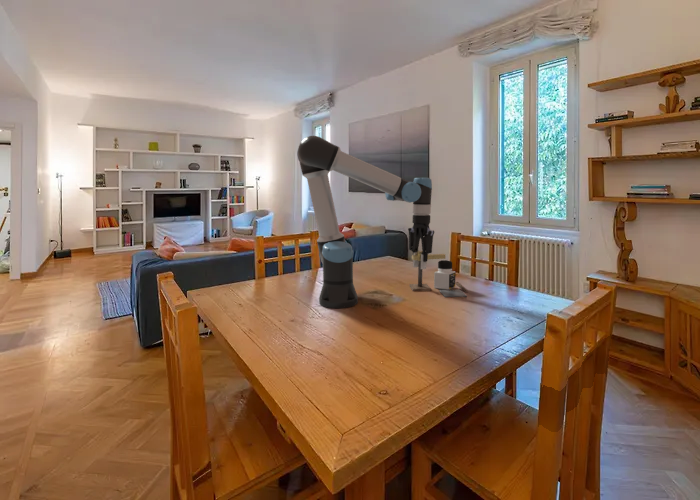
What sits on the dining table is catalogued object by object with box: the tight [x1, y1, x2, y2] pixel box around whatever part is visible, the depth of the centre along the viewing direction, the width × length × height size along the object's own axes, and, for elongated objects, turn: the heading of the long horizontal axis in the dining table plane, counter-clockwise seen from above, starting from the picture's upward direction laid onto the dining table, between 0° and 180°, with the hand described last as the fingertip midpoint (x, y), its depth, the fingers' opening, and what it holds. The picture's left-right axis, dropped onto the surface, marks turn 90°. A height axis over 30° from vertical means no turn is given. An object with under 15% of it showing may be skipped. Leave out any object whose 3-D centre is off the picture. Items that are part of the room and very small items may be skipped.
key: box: [411, 250, 446, 261], centre depth 167 cm, size 15×3×4 cm, turn 100°
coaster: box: [439, 289, 468, 298], centre depth 160 cm, size 9×9×1 cm
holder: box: [409, 261, 469, 293], centre depth 168 cm, size 23×14×12 cm, turn 91°
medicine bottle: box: [433, 259, 457, 290], centre depth 168 cm, size 7×7×12 cm
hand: (419, 267), depth 167 cm, fingers closed on key, 4 cm apart
